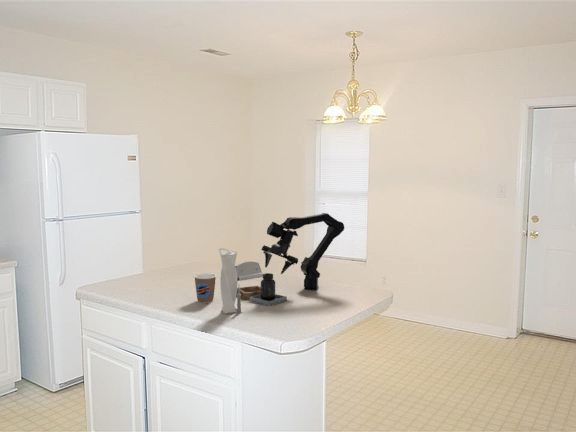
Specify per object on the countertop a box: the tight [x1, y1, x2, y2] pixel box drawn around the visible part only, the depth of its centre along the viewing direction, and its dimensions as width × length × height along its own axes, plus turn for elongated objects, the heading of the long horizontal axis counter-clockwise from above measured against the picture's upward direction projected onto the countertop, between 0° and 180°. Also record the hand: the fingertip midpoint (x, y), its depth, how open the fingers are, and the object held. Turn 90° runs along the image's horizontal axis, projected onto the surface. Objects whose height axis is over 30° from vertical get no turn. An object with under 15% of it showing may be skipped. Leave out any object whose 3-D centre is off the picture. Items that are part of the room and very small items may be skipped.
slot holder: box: [237, 285, 261, 301], centre depth 247 cm, size 12×12×3 cm
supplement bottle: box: [260, 272, 276, 301], centre depth 236 cm, size 7×7×12 cm
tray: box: [249, 293, 288, 307], centre depth 237 cm, size 12×12×2 cm
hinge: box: [235, 261, 264, 281], centre depth 288 cm, size 17×5×10 cm, turn 128°
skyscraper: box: [218, 247, 243, 316], centre depth 218 cm, size 8×8×28 cm
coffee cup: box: [193, 273, 217, 304], centre depth 236 cm, size 10×10×12 cm
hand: (273, 270), depth 253 cm, fingers open, 9 cm apart
